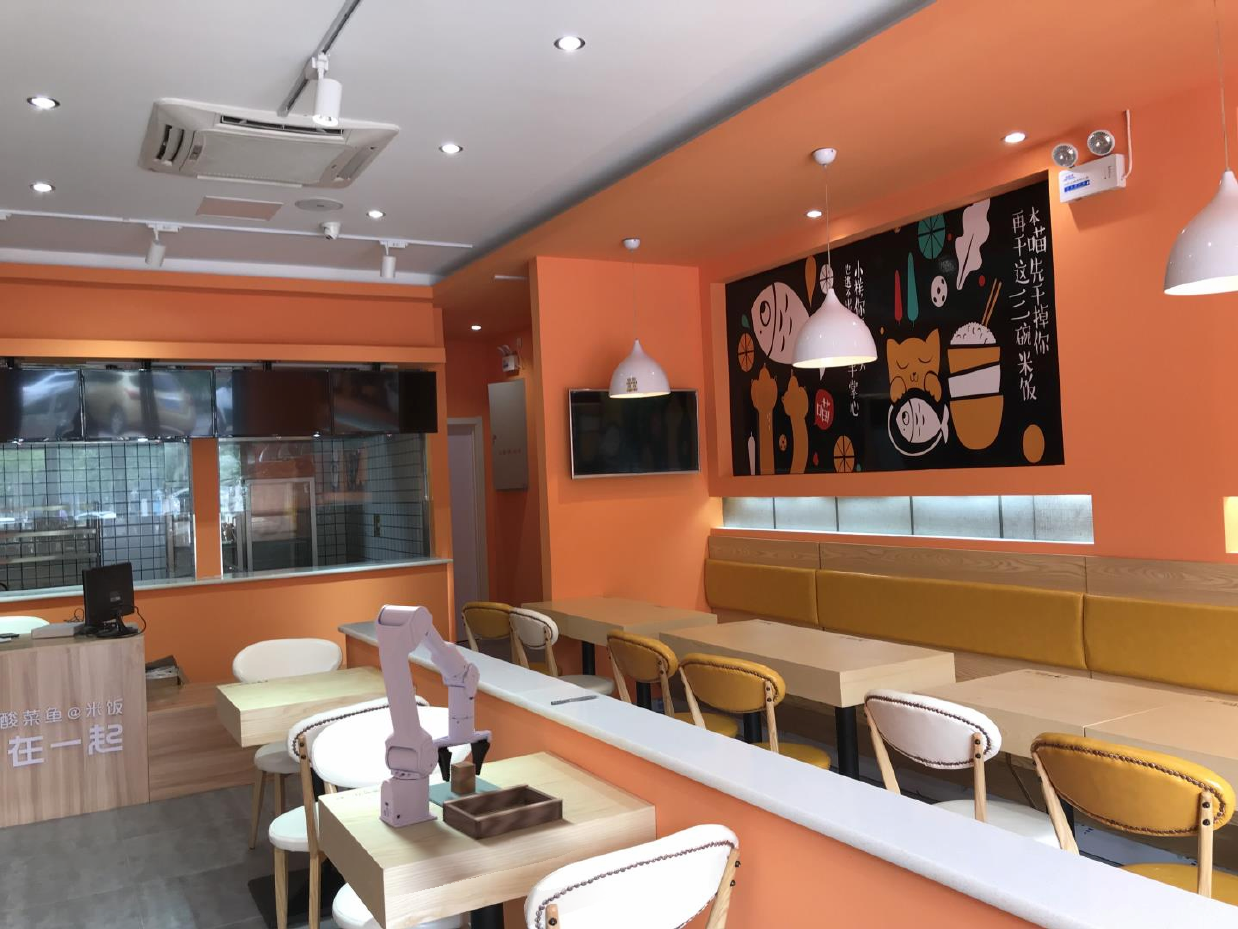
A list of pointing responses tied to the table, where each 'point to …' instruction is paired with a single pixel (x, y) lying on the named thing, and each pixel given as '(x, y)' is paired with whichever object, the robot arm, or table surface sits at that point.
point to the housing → (505, 821)
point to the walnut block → (463, 778)
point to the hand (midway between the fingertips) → (461, 777)
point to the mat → (443, 793)
